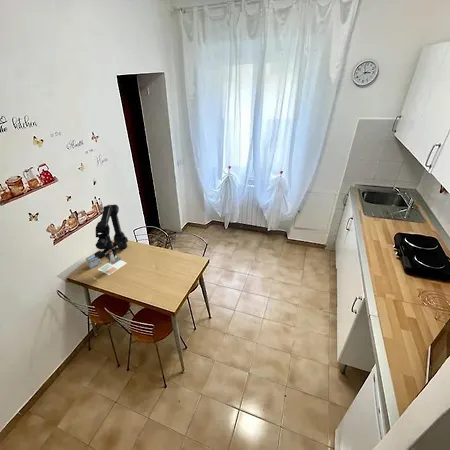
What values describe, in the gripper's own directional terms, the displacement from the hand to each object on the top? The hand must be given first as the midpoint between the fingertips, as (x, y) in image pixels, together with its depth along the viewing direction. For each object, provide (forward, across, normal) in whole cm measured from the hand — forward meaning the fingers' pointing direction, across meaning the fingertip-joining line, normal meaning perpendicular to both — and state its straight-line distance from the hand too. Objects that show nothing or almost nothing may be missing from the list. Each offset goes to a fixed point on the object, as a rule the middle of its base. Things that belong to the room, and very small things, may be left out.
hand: (111, 258), depth 180 cm
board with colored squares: (+9, -1, -3) cm, 10 cm away
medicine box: (+9, +5, -16) cm, 19 cm away
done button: (+7, -6, -7) cm, 12 cm away
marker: (+2, 0, 0) cm, 2 cm away
